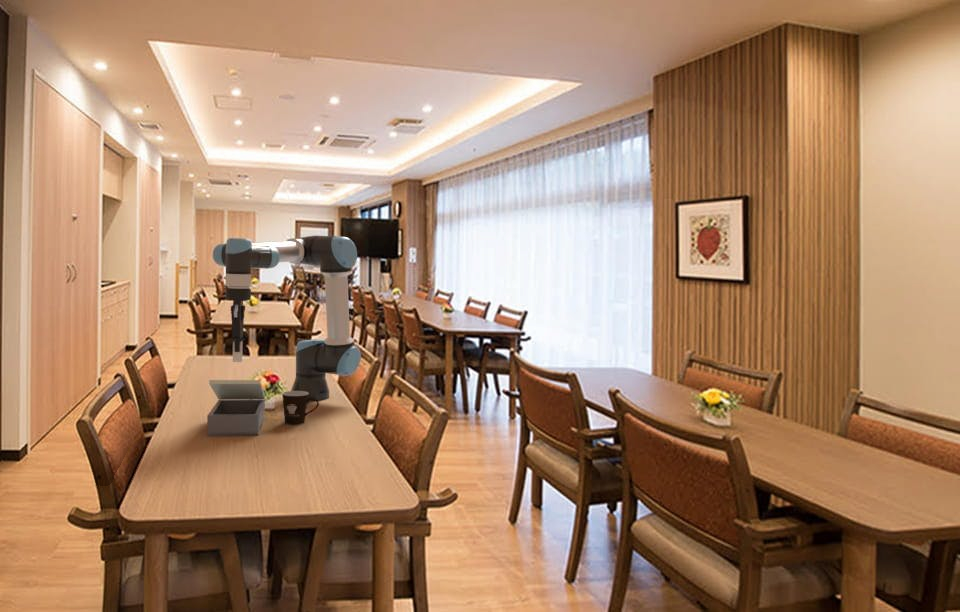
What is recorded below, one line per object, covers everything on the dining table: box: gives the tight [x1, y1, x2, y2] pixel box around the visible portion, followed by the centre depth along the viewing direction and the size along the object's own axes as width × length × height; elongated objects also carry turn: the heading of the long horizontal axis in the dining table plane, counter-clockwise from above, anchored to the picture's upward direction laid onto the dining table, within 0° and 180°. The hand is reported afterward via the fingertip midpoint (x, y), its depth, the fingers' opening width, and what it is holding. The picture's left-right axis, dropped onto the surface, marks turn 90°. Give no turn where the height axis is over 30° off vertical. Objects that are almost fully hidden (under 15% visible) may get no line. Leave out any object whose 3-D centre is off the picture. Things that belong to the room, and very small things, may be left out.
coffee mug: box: [281, 390, 320, 426], centre depth 225 cm, size 12×9×10 cm
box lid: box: [208, 379, 266, 401], centre depth 217 cm, size 15×22×1 cm
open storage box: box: [206, 399, 266, 437], centre depth 217 cm, size 15×22×6 cm
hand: (237, 361), depth 210 cm, fingers closed
